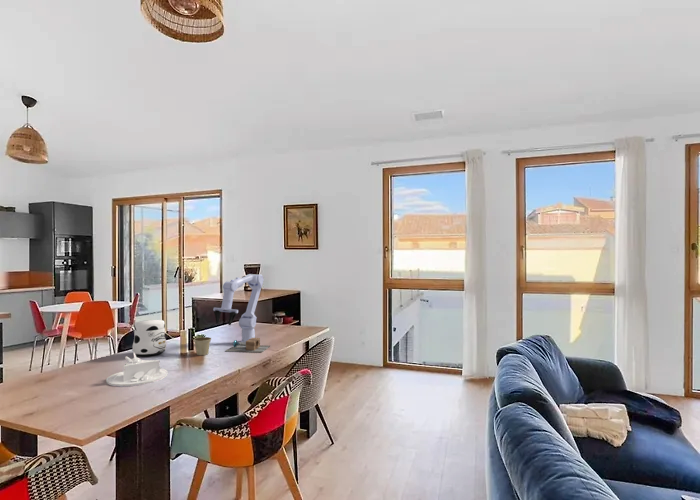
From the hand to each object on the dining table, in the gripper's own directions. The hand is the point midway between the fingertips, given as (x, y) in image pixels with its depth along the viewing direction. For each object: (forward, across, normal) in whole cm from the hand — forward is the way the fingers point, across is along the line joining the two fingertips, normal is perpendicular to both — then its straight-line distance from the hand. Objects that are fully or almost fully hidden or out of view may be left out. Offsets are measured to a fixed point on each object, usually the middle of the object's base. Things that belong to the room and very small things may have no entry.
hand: (223, 324), depth 238 cm
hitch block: (+12, +14, +9) cm, 21 cm away
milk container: (+21, -37, -8) cm, 43 cm away
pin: (+12, +12, +9) cm, 19 cm away
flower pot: (+18, -7, -5) cm, 20 cm away
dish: (+30, -16, -47) cm, 58 cm away
